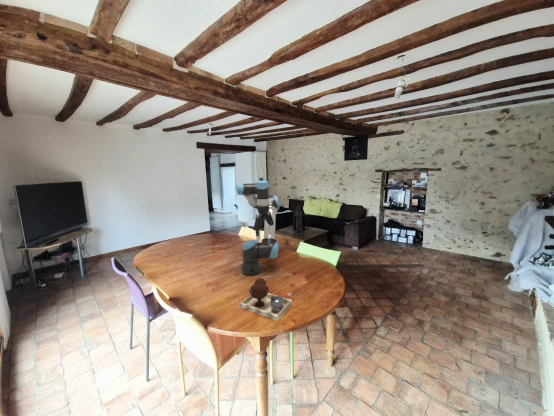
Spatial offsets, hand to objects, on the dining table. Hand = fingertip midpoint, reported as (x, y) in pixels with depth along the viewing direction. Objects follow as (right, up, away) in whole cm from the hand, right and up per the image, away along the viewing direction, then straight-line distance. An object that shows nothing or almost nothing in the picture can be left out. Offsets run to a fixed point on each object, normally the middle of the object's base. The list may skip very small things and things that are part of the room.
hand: (264, 237), depth 146 cm
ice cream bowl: (-2, -35, -21) cm, 40 cm away
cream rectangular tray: (+2, -36, -22) cm, 42 cm away
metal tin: (+8, -35, -25) cm, 44 cm away
